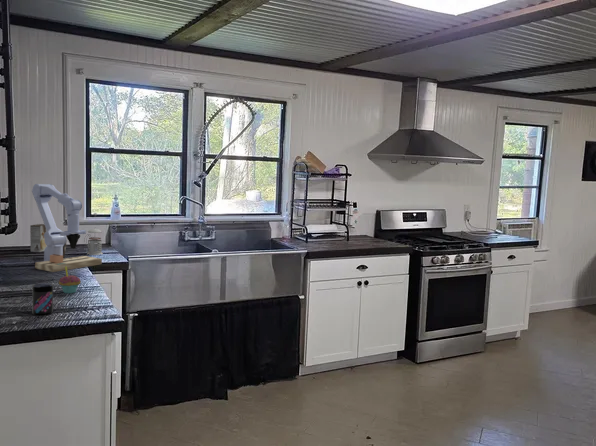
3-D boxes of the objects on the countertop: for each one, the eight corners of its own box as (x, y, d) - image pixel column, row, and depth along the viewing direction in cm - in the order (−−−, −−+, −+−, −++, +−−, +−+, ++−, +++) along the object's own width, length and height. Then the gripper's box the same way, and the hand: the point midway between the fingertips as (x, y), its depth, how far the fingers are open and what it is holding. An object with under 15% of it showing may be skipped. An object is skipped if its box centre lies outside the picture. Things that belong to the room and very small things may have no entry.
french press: (106, 253, 318) (107, 213, 316) (90, 255, 308) (90, 214, 306) (96, 251, 323) (97, 212, 321) (80, 253, 314) (80, 212, 311)
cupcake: (66, 295, 214) (66, 266, 213) (54, 292, 219) (54, 264, 217) (84, 291, 221) (85, 264, 220) (72, 288, 226) (72, 261, 225)
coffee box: (37, 249, 321) (37, 223, 320) (48, 250, 321) (48, 224, 320) (30, 251, 312) (30, 225, 311) (40, 252, 312) (40, 225, 311)
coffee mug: (60, 259, 292) (60, 241, 291) (46, 258, 294) (46, 240, 293) (73, 256, 304) (73, 239, 303) (59, 255, 305) (60, 238, 304)
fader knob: (49, 261, 266) (49, 254, 266) (56, 260, 270) (56, 253, 270) (56, 263, 264) (56, 255, 264) (63, 262, 268) (63, 254, 267)
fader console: (35, 268, 264) (35, 262, 264) (84, 261, 291) (84, 255, 291) (53, 272, 258) (53, 265, 258) (101, 264, 284) (101, 258, 284)
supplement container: (28, 315, 184) (28, 286, 183) (38, 310, 190) (38, 282, 189) (47, 316, 183) (47, 287, 182) (56, 311, 190) (56, 283, 189)
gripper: (66, 224, 266) (66, 250, 267) (90, 222, 278) (89, 247, 280) (57, 223, 269) (57, 249, 270) (81, 221, 282) (80, 246, 283)
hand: (73, 248), depth 275 cm, fingers closed
